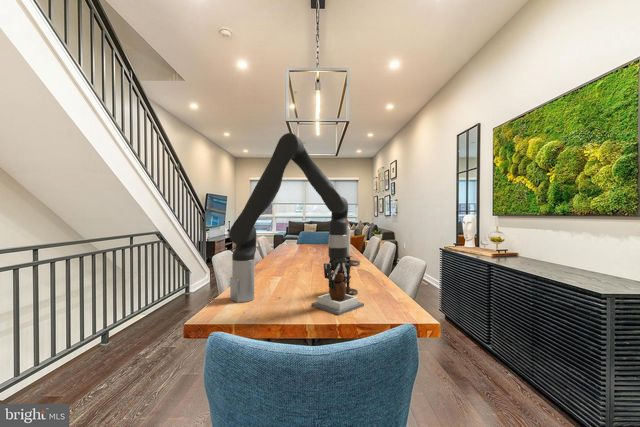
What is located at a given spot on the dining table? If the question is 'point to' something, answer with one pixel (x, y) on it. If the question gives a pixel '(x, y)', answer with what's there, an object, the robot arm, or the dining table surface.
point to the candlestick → (353, 263)
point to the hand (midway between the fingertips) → (337, 287)
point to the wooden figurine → (338, 287)
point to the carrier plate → (337, 304)
